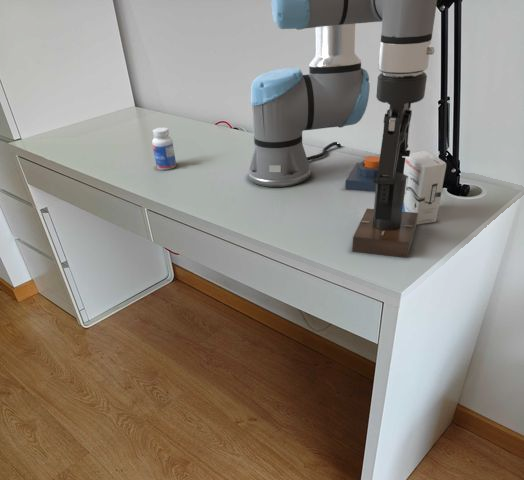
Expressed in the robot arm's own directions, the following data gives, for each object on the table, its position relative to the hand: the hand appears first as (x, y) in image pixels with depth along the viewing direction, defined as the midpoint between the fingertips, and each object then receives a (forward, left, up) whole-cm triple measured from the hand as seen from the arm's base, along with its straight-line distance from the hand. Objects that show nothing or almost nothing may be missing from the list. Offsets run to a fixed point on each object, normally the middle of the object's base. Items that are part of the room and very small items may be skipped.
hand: (388, 205), depth 92 cm
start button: (-29, -8, -3) cm, 30 cm away
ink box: (-12, +4, -7) cm, 15 cm away
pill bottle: (-29, -64, -7) cm, 71 cm away
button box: (-29, -8, -7) cm, 31 cm away
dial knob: (0, 0, -4) cm, 4 cm away
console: (0, 0, -7) cm, 7 cm away
